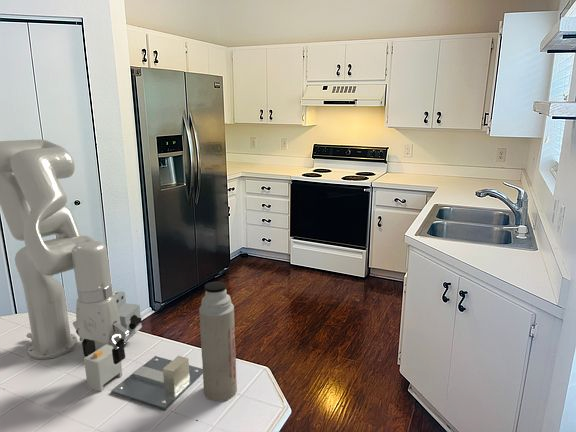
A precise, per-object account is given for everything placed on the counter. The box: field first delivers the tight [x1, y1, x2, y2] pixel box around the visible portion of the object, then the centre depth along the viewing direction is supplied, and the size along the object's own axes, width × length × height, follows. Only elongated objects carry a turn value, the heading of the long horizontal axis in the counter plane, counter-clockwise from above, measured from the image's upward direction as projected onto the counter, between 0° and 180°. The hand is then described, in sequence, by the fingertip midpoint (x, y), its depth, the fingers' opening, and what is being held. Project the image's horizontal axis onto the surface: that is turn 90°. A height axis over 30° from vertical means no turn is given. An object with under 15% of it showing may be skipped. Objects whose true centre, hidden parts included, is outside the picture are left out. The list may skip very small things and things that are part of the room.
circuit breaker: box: [95, 290, 143, 350], centre depth 122 cm, size 8×14×15 cm, turn 78°
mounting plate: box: [110, 355, 203, 412], centre depth 106 cm, size 16×16×7 cm
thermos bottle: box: [198, 281, 238, 403], centre depth 100 cm, size 8×8×28 cm
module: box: [83, 344, 123, 392], centre depth 106 cm, size 4×7×9 cm, turn 157°
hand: (104, 357), depth 105 cm, fingers open, 9 cm apart
